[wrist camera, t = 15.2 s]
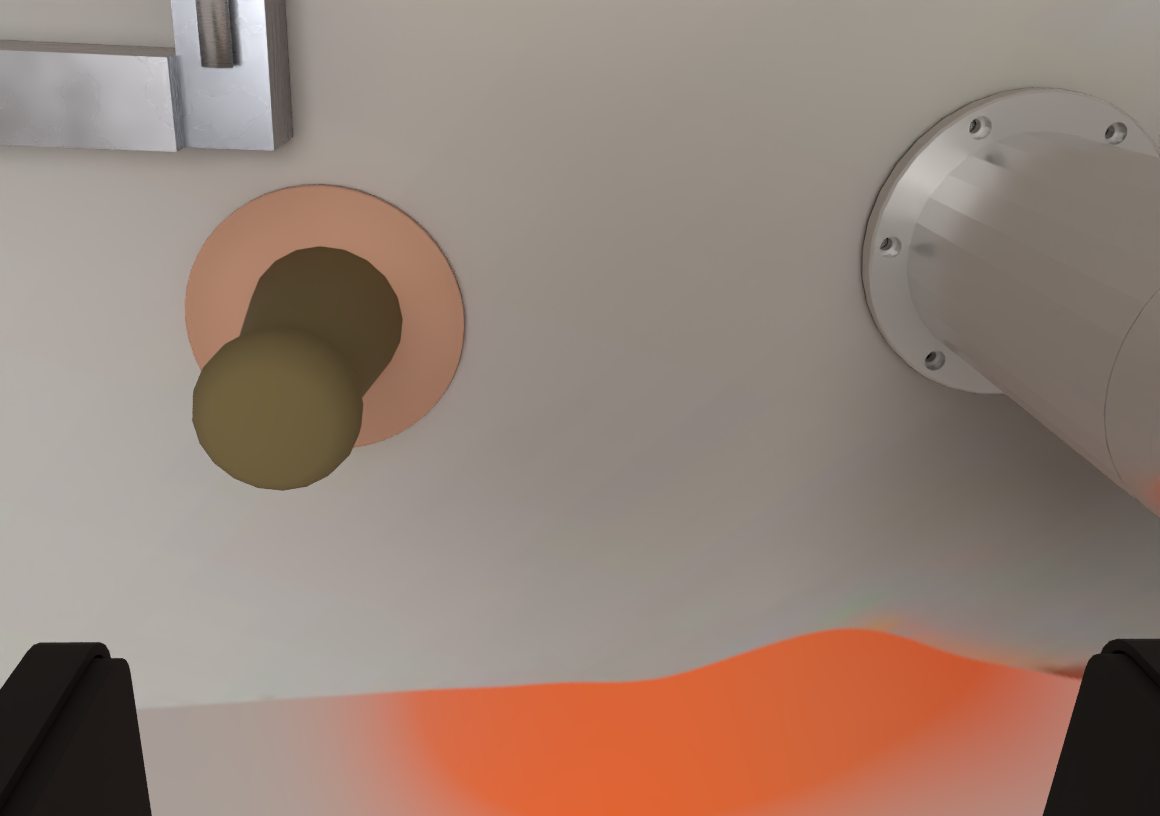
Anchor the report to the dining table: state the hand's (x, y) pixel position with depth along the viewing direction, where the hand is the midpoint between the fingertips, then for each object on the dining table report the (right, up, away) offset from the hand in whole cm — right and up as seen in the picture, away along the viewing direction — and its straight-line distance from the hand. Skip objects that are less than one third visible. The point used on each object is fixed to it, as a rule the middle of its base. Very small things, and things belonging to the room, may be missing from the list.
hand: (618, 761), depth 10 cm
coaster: (-11, +7, +31) cm, 34 cm away
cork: (-11, +7, +31) cm, 33 cm away
